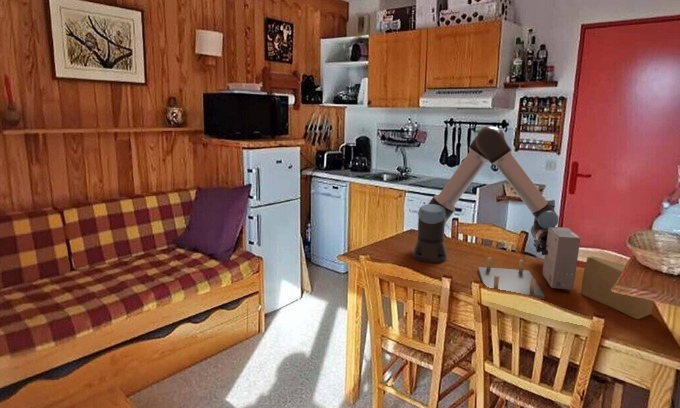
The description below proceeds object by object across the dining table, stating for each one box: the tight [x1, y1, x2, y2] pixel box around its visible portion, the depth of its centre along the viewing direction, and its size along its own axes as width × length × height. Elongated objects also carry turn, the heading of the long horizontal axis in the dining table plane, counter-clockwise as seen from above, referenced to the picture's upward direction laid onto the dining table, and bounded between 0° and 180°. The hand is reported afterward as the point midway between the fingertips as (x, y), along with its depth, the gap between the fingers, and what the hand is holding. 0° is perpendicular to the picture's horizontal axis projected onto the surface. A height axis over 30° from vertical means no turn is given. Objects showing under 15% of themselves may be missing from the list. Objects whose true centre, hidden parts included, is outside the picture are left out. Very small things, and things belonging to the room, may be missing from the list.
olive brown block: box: [580, 256, 654, 320], centre depth 157 cm, size 22×10×15 cm, turn 30°
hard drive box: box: [542, 226, 582, 291], centre depth 172 cm, size 16×8×20 cm, turn 169°
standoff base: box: [477, 257, 545, 300], centre depth 175 cm, size 20×26×6 cm
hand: (562, 256), depth 169 cm, fingers closed on hard drive box, 7 cm apart
